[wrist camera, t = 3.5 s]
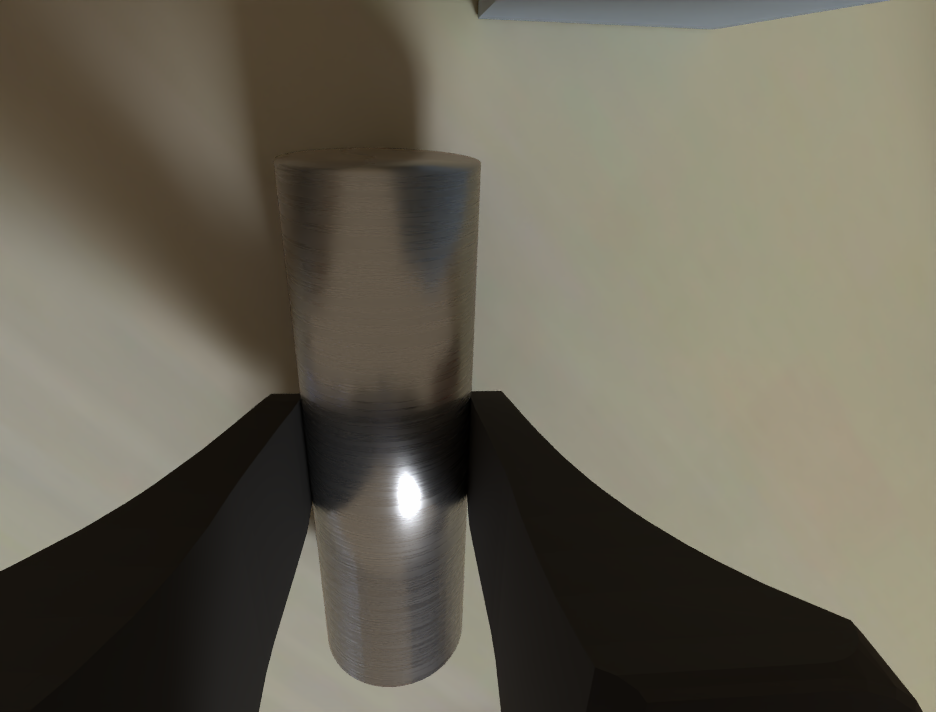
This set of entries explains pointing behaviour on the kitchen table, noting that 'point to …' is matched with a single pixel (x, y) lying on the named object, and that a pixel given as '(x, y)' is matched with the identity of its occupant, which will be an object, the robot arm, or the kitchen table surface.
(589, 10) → the block
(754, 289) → the kitchen table surface
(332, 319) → the roller
